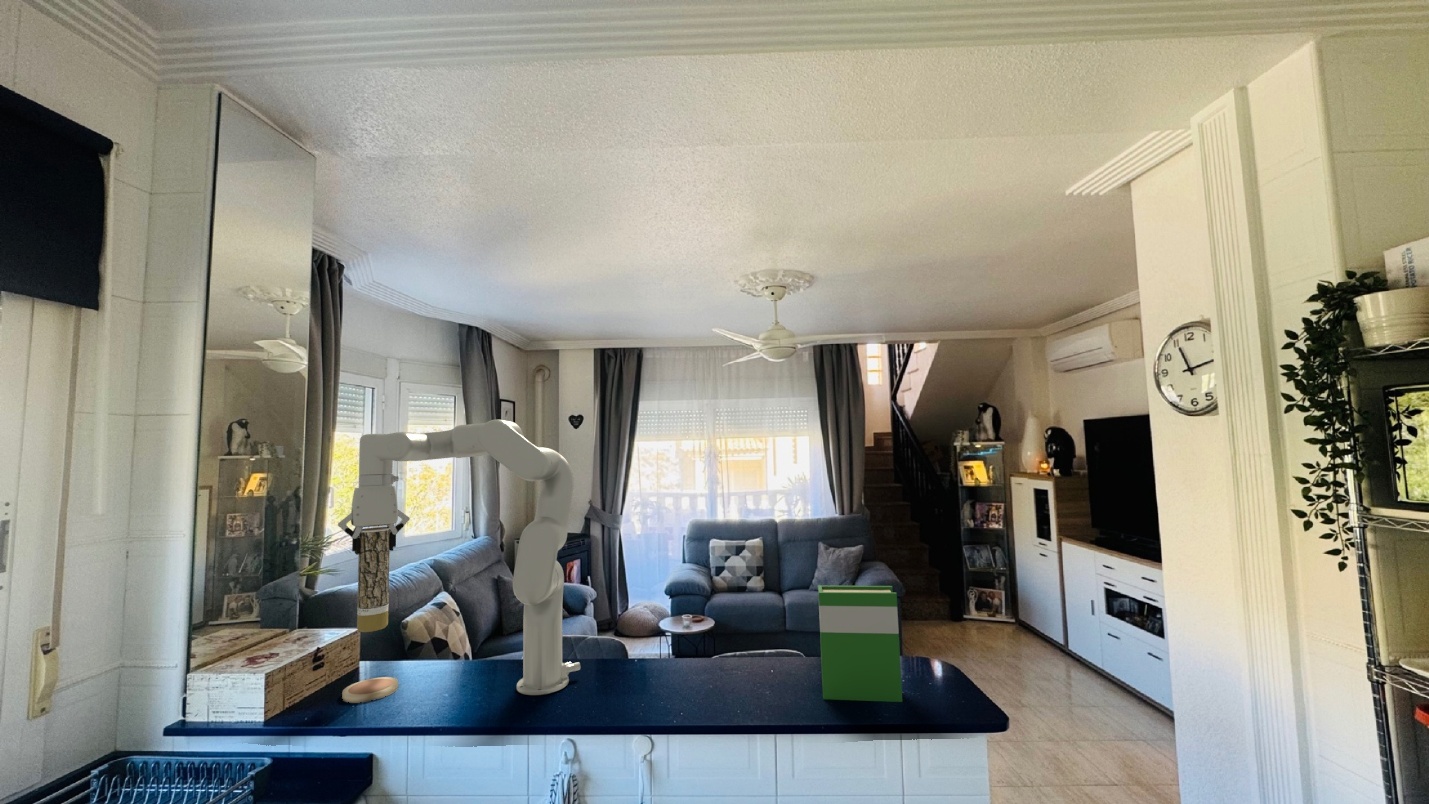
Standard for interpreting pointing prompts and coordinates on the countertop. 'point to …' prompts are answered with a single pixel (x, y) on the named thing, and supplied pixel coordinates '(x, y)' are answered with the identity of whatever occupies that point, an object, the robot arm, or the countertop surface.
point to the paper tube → (373, 579)
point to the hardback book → (860, 643)
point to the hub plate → (370, 689)
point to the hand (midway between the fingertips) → (374, 551)
